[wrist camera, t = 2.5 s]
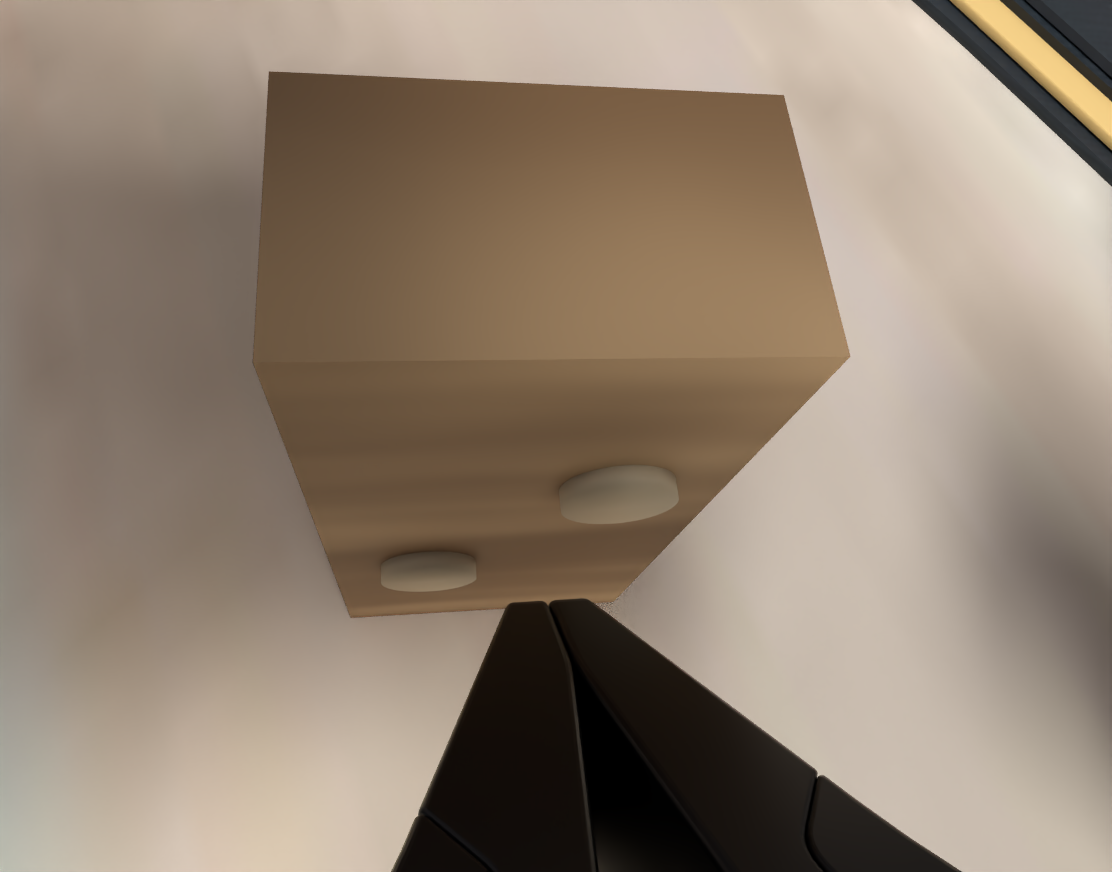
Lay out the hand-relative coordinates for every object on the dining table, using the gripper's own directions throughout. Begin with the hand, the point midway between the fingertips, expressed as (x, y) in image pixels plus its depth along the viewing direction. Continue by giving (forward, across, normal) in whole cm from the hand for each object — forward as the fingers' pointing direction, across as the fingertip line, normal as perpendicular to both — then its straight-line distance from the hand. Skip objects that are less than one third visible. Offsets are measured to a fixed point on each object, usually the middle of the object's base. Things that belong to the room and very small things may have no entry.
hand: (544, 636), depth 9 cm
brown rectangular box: (+7, 0, +3) cm, 8 cm away
